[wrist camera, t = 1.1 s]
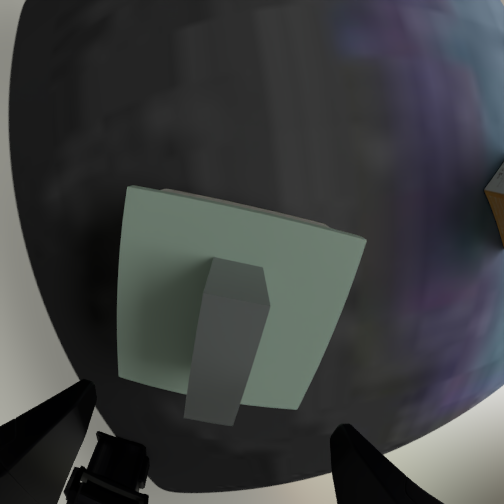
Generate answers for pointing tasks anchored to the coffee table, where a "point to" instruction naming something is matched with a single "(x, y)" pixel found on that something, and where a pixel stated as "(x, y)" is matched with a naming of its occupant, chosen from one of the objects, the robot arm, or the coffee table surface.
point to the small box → (497, 198)
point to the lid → (226, 301)
